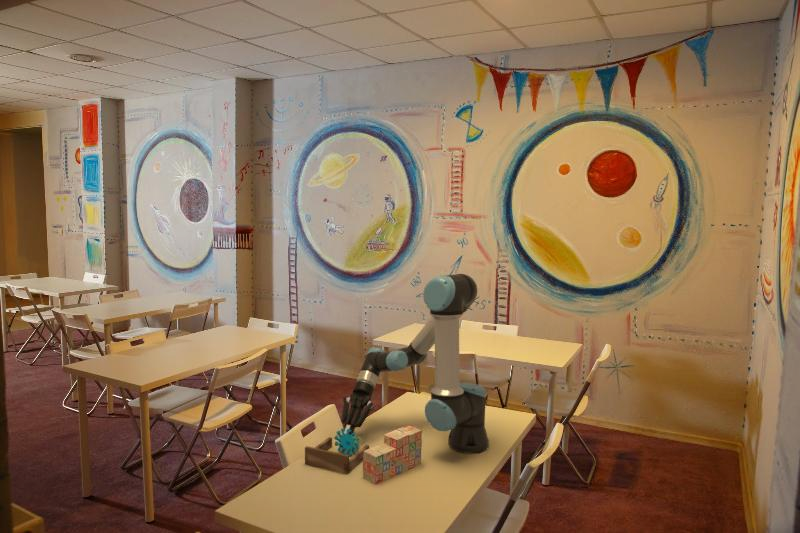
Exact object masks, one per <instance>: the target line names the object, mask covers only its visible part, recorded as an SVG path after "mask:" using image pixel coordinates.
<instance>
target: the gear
mask: <svg viewBox="0 0 800 533" xmlns="http://www.w3.org/2000/svg"><path fill="white" fill-rule="evenodd" d="M344 431H345V428H344V427H342V428H341V429H340V430H338V431H336V435H335V436H333V439H334V440H336V441H335V442H334V446H335V447H337V446H338V448H337V451H338V453H341V452H342V451H343V450H345V451H343V452H342V454H346V455H349V457H352V456H354V454H356V453H357V452H358V448H360V444H359V441H360V440H361V439H362V438H361V436H357V434H356V432H355V431H354V432H353V433H352V434H351V435H349V434H348V433H349V432H351V430H350V429H347V433H346V434H345V433H344ZM356 436H357V437H356ZM355 437H356V438H355ZM348 451H349V452H348Z"/></svg>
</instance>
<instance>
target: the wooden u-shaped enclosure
mask: <svg viewBox="0 0 800 533" xmlns="http://www.w3.org/2000/svg"><path fill="white" fill-rule="evenodd" d="M332 447H333V437H331V436H330V437H327V438H326V439H325V440H323V441H322V442H321V443H319V444H317V445H316V446H315V447H313V446H307V445H306V446H305V447H304V465H305V466H311V467H315V468H319V469H324V470H327V471H331V472H337V473H340V474H345V475H348V474H350V472H352V471H353V470H354V469H355V468H356V467H357V466H359V465H360V464H361V462H362V463H363V455H364V451H365V450H367V449H370V444H365V445H364V446H363V447H362V448H360V450H357V452H356V453H354V454H353V455H352V456H349V454H347V455H346V454H343V453H341V452H336V451H330V449H331V448H332Z"/></svg>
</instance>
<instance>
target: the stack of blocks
mask: <svg viewBox="0 0 800 533" xmlns="http://www.w3.org/2000/svg"><path fill="white" fill-rule="evenodd" d="M422 432H423V431H422V430H421V429H419V428H417V427H415V426H412V425H407V426H402V427H400V428H397V429H395V430H392V431H390V432H388V433H384V434H383V443H381V444H378V445H376V446H372V447H369V449H367V450H365V451H364V455H363V461H362V478H363V479H364V480H367V481H369V482H370V483H372V484H374V485H376V484H379V483H382V482H383V481H387V480H388V479H390V478H393V477H395V476H397V475H400V474H401V473H404V472H406V471H409V470H410V469H413V468H416V467H418V466H420V465H422V446H423V445H422V444H423V442H422V441H423V438H422V434H423V433H422Z"/></svg>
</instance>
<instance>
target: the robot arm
mask: <svg viewBox="0 0 800 533" xmlns="http://www.w3.org/2000/svg"><path fill="white" fill-rule="evenodd" d="M422 293H423V295H422V297H423V302H424V304H426V307H427V308H428V309H429V313H430V316H431V317H430V318H429V320H428V321H427V322H426V323H425V324H424V326H423V327H422V328H421V330H420V331H419V332H418V333H417V334H416V336H415V337H414V338H413V340H412V341H411V342H410V343H409V344H408V345H407V346H406V347H405V346H404V347H402V348H398V349H394V350H390V351H385V350H384V349H382V348H380V347H376V346H372V347H370V348H369V349H368V351H367V353H366V355H365V358H364V361H363V363H362V366H361V369H360V372H359V374H358V377H357V378H356V382H355V384H354V387H353V389H352V393H351V394H350V395H349V397H343V398H342V400H343V405H342V406H343V407H342V412H341V413H342V415H341V423H342V424H343V425H344V426H343V428H345V431H344V433H345V434H346V433H347V429H350V430H351V432H349V433H348V434H349V435H351V434H352V433H353V432H355V429H356V428H361V427H362V425H363V424H364V422H366V419H367V418H368V416H369V414H370V412H371V411H373V409H375V407H376V406H375V404H374V403H373V402H372V399H371V398H372V396H373V394H374V391H375V387H376V385H377V382H378V380H379V377H380V374H381V373H383V372H384V373H385V372H398V371H402V370H405V368H407V367H411V366H415V365H419V364H422V363H423V362H425V361H426V360H427V359H428V358H427V357H428V352H429V351H430V350H431V349H432V348H433V347H434V382H435V384H434V385H435V386H433V387H432V388H431V389H430V391H431V392H430V399H429V400H428V401H427V403H425V406H424V415H425V418H426V421H427V423H428V424H430V426H431V427H432V428H433V429H434V430H436V431H438V432H447V431H449V435H448V438H447V441H448V442H447V444H448V446H449V447H450V448H451V449H452V450H455V451H456V452H460V453H465V454H478V453H477V452H479V453H483V452H485V451H487V450H488V449H489V447H488V446H489V444H490V443H489V442H490V441H489V437H488V434H487V429H486V427H485V425H486V423H485V421H486V401H487V400H486V399H487V394H486V392H487V391H486V389H485V387H484V386H482V385H480V384H477V383H472V382H464V381H463V382H462V381H461V382H460V380H461V377H460V374H461V373H460V318H461V317H462V316H463V315H464V313H466V312H467V311H468V310H469V309H470V307H471V306H472V304H473V303H474V302H475V300H476V299H477V296H478V285H477V283H476V282H475V280H474V278H472V277H471V276H470V275H468V274H466V273H456V274H455V273H454V274H447V275H446V274H444V275H438V276H435V277H432V278H431V279H429V280H428V281H427V283H426V285H425V287H424V289H423V292H422ZM350 403H351V404H350ZM487 448H488V449H487ZM486 449H487V450H486ZM484 450H485V451H484ZM482 451H483V452H482Z"/></svg>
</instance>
